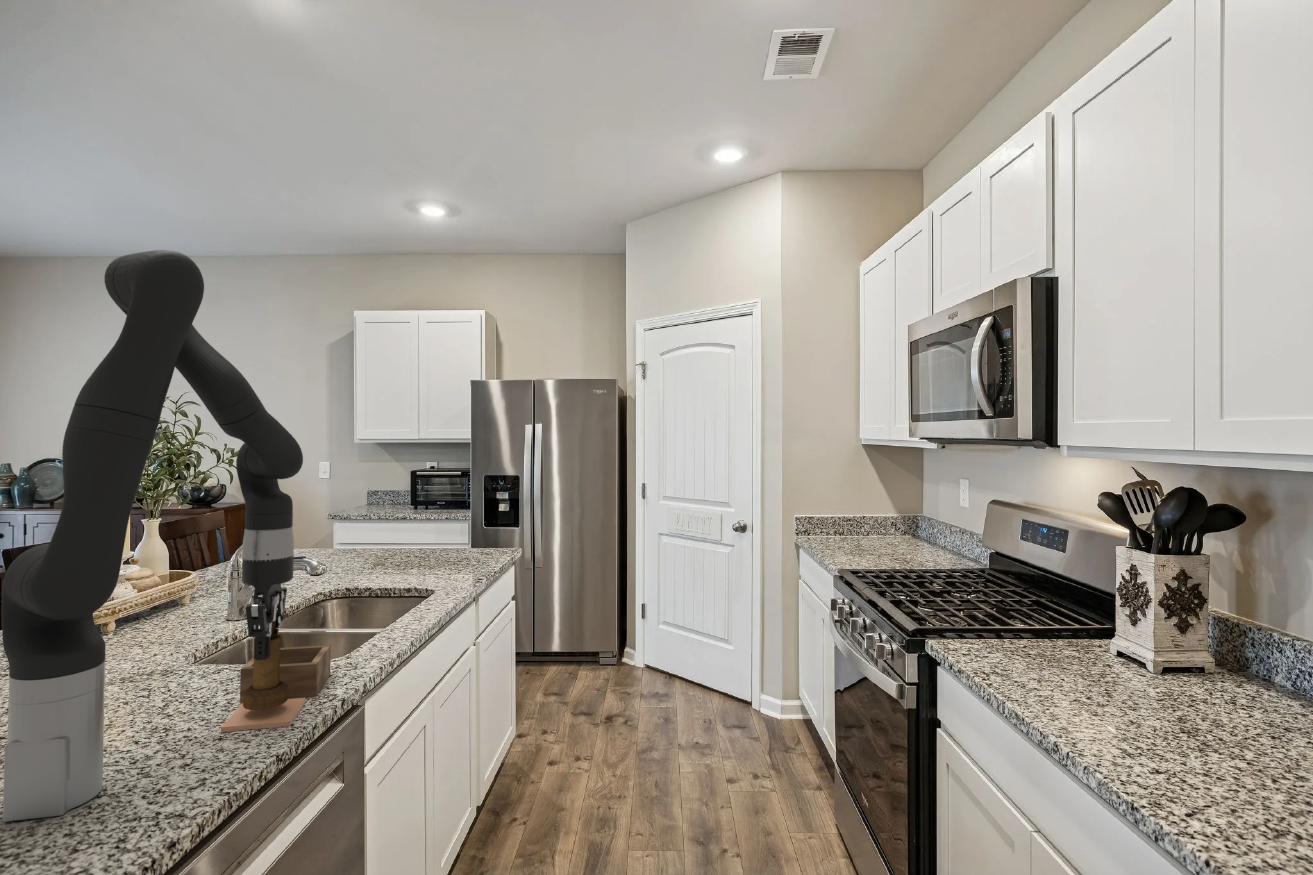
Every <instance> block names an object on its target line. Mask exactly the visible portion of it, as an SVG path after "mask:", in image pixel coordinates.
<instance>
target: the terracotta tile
mask: <svg viewBox="0 0 1313 875" xmlns="http://www.w3.org/2000/svg"><path fill="white" fill-rule="evenodd" d="M306 701H307V697H305V698H293V699H288V700H287V701H286V702H285V703H283V704H282V705H279V706H277V707H273V708H269V709H264V710H248V709H245V708H244V707H243V703H241V704H240V705H239V706H238V708H237V709H236V710H235V711H234V712H233V713H232V714H231V715H230V717H229V718H228V719H227V720H226V721H225V722H224V723H223V724H222V726H221V727H220V733H227V732H228V733H229V732H239V731H249V729H252V730H261V728H263V729H275V728H283V727H291V725H292V723H293V722H294V721H295V719H296V718H297V716H298V715H299V713H300V712H301V710H302V708H303V707H304V706H305V704H306Z"/></svg>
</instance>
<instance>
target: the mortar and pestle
mask: <svg viewBox="0 0 1313 875" xmlns="http://www.w3.org/2000/svg"><path fill="white" fill-rule="evenodd" d="M277 609H278V605H277ZM277 609H276V610H277ZM268 617H270V616H266V618H268ZM274 628H275V622H273V623H272V627H271V635H270V636H271V638H270V657H269V658H268V659H266V660H255V659H254V666H253V685H251V686H250V687H249V688H248V689H247V690H246V691H245V692H244V695H243V707H244V708H245V709H248V710H264V709H269V708H273V707H277V706H279V705H282V704H283V703H285V702H286V701H287V700H288V685H287V684H285V683H283V682H282V681H280V680H279V675H280V648H281V635H280V634H279V635H277V634H273V631H274ZM259 629H262V628H261V625H259Z"/></svg>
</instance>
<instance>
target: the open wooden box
mask: <svg viewBox="0 0 1313 875" xmlns="http://www.w3.org/2000/svg"><path fill="white" fill-rule="evenodd" d="M331 647H332V644H325V645H323V644H322V645H321V644H320V645H309V646H308V645H307V646H306V645H305V646H291V647H280V675H279V680H280V681H282V682H283V683H285V684H287V685H288V699H296V698H315V697H317V696H318V694H319V693H320V691H321V690H322V688H323V687H324V685H325V683H326V682H327V681H328V679H329V677H330V676H331V663H332V662H331V657H332V656H331V653H332V651H331ZM253 666H254V656H253V657H252V658H251V659H250V660H249V661H247V662H246V663H245V664H244V665H243V666H242V667H241V668H240V680H239V682H240V683H239V684H240V685H239V686H240V688H239V703H241V704H242V703H243V695H244V692H245V691H246V690H247V689H248V688H249V687H250V686H251V685H253Z"/></svg>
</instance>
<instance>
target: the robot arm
mask: <svg viewBox="0 0 1313 875" xmlns="http://www.w3.org/2000/svg"><path fill="white" fill-rule="evenodd" d="M204 281H205V280H204V277H203V274H202V272H201V270H200V268H199V266H198V265H197V263H196V262H194V260H192V259H191V258H190V257H189V256H187V255H186V254H184V253H181V252H179V251H175V250H168V249H158V250H157V249H155V250H149V251H141V252H136V253H130V254H126V255H123V256H119V257H116V258H115V259H113V260H112V261H111V262H110V263H109V264H108V265H107V267H106V270H105V273H104V284H105V285H104V286H105V290H106V291H107V294H108V295H109V297H110V298H111V300H112V301H113V302H114V303H115V304H116V306H117V307H118V308H119V309H120V310H121V311H122V312H123V313H124V315H126V318H125V321H124V324H123V327H122V330H121V332H120V333H119V336H118V338H117V340H116V341H115V343H114V345H113V346H112V348H110V350H109V352H108V353H107V354H106V355H105V356H104V357H103V359H102V361H100V363H98V365H97V367H95V369H94V370H93V372H91V375H89V377H88V379H87V380H86V381H85V383H84V385H83V386H82V387H81V389H80V391H79V392H78V395H77V397H76V399H75V402H74V404H73V405H74V406H73V407H72V410H71V414H70V417H69V419H68V423H67V426H66V429H65V432H64V436H63V440H62V459H61V460H62V478H63V480H62V481H63V502H62V507H61V511H60V515H59V518H58V521H57V523H56V526H55V530H54V532H53V534H52V538H51V540H50V542H49V543H42V544H39V545H37V546H35V545H34V546H33V547H31V548H28V549H27V550H25V551H24V552H22V553H20V554H19V555H18V556H16V557H15V559H14V560H13V561H12V562H11V563H10V565H9V566H8V567H7V570H6V572H5V575H4V577H3V581H2V589H1V591H2V592H1V624H2V625H1V626H2V627H1V628H2V629H1V630H2V632H1V633H2V646H3V651H4V653H5V656H6V659H7V662H8V677H9V678H8V705H7V706H8V708H7V709H8V712H7V715H8V716H7V743H6V744H5V746H4V748H3V750H4V754H3V762H4V763H3V791H2V792H3V795H2V796H3V799H2V800H3V802H2V805H3V806H2V822H3V823H5V822H6V823H7V822H15V821H23V820H32V819H39V818H40V819H41V818H48V817H57V816H59V817H60V816H63V815H65V813H67V812H69V811H70V810H72V809H74V808H77V807H78V806H81V805H83V804H85V803H87V802H89V801H90V800H92V799H94V797H96V796H98V795H99V794H100V793H101V792H102V790H103V787H104V786H103V782H104V777H103V776H104V739H105V738H104V735H105V734H104V732H105V726H104V725H105V688H106V687H105V686H106V685H105V682H106V642H105V640H104V638H103V637H102V635H101V633H100V632H99V631H98V628H97V626H96V623H95V619H94V613H96V612H97V611H98V610H99V609H101V608H102V607H103V606H104V605H106V603H107V602H108V600H109V599H110V598H111V596H112V595H113V593H114V591H115V589H116V586H117V585H118V580H119V577H120V573H121V566H122V561H123V560H122V559H123V554H124V549H125V542H126V536H127V531H128V525H129V520H130V517H131V512H132V509H133V505H134V502H135V499H136V496H137V493H138V491H139V487H140V484H141V481H142V478H143V474H144V470H145V467H146V463H147V460H148V458H149V454H150V452H151V450H152V447H153V443H154V440H155V438H156V433H157V429H158V427H159V423H160V420H161V415H162V412H163V407H164V404H165V402H166V397H167V394H168V391H169V388H170V385H171V383H172V378H173V375H174V371H175V368H176V370H177V371H178V372H179V373H180V374H181V376H182V377H183V378H184V379H185V381H186V382H187V383H188V384H189V386H190V387H191V388H192V390H193V391H194V392H195V393H196V395H197V396H198V397H199V399H200V400H201V402H202V403H203V405H204V406H205V408H206V410H208V412H209V413H210V415H211V416H212V418H213V419H214V421H215V422H216V423H217V425H218V426H219V428H220V429H221V430H222V431H223V432H224V433H225V434H226V436H227V435H228V436H229V437H232V438H235V439H237V440H240V441H242V442H243V443H242V444H241V446H240V448H239V450H238V453H237V456H236V461H235V462H236V463H235V465H236V473H237V478H238V483H239V486H240V490H241V494H242V497H243V500H244V501H243V502H244V506H245V507H244V508H245V511H244V533H243V539H242V559H241V560H242V561H241V563H242V564H241V567H242V569H241V581H242V582H241V583H242V584H243V585H245V586H252V587H254V589H253V594H252V595H251V596H250V604H249V603H248V604H246V606H245V614H246V622H247V624H246V625H247V631H248V634H247V635H248V637H249V638H252V639H253V657H254V659H255V660H266V659H268V658H269V657H270V638H271V636H270V635H271V627H272V623H273V622H275V628H274V631H273V634H277V635H280V634H279V629H280V628H281V626H282V622H284V620H285V610H286V601H287V592H288V587H287V586H282V584H286V583H288V582H290V581H292V580H293V578H294V556H295V555H294V548H295V547H294V546H295V540H294V539H295V538H294V530H293V526H294V524H293V517H294V510H293V509H294V503H293V499H292V497H291V496H290V495H289V493H288V494H287V493H285V492H283V491H282V490H281V489H280V485H279V481H278V480H285V479H290V478H292V477H294V476H296V475H297V474H298V473H299V472H300V470H301V469H302V466H303V464H304V455H303V451H302V449H301V446H300V444H299V443H298V441H297V440H296V438H295V437H294V436H293V434H291V433H290V431H288V429H287V428H286V427H284V425H282V424H281V423H280V422H279V421H278V419H276V418H275V417H274V416H273V415H272V414H270V413H269V412H268V411H267V409H266V408H265V406H264V404H263V403H262V401H261V399H260V397H259V396H258V395H257V393H256V392H255V390H254V388H253V387H252V384H250V382H249V381H248V380H247V378H246V377H245V376H244V375H243V374H242V373H241V372H240V371H239V370H238V368H237V367H235V366H234V364H232V362H230V361H229V360H228V359H227V358H226V357H225V356H223V355H222V354H221V353H220V352H219V351H218V350H216V349H215V348H214V347H213V346H212V345H211V344H210V343H209V342H208V341H207V340H206V339H205V338H204V337H203V336H202V334H201V333H200V332H199V331H198V330H197V329H196V327H195V326H194V324H193V323H194V320H195V318H196V316H197V313H198V311H199V309H200V308H201V305H202V301H203V298H204V293H205V282H204ZM277 605H278V608H277ZM276 609H277V610H276ZM266 616H270V617H268V618H266ZM260 625H261V628H262V629H260ZM99 792H100V793H99ZM13 820H14V821H13Z"/></svg>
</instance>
